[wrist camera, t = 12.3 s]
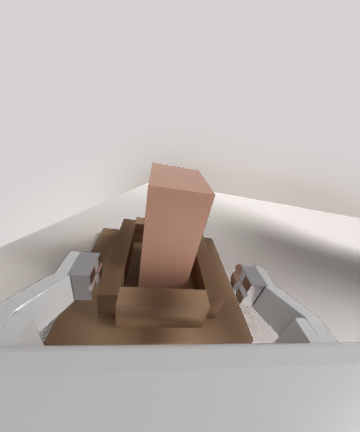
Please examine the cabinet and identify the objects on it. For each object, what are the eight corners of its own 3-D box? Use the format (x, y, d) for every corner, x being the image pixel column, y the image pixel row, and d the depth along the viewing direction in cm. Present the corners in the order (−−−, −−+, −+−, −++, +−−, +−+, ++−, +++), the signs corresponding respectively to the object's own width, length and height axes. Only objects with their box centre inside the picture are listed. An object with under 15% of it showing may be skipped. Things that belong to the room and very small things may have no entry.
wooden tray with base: (209, 243, 27) (217, 222, 25) (248, 345, 15) (268, 320, 13) (103, 233, 24) (102, 209, 22) (46, 350, 12) (33, 319, 10)
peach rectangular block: (178, 253, 22) (198, 170, 17) (183, 295, 17) (215, 194, 11) (143, 251, 21) (152, 162, 16) (137, 294, 16) (148, 185, 11)
